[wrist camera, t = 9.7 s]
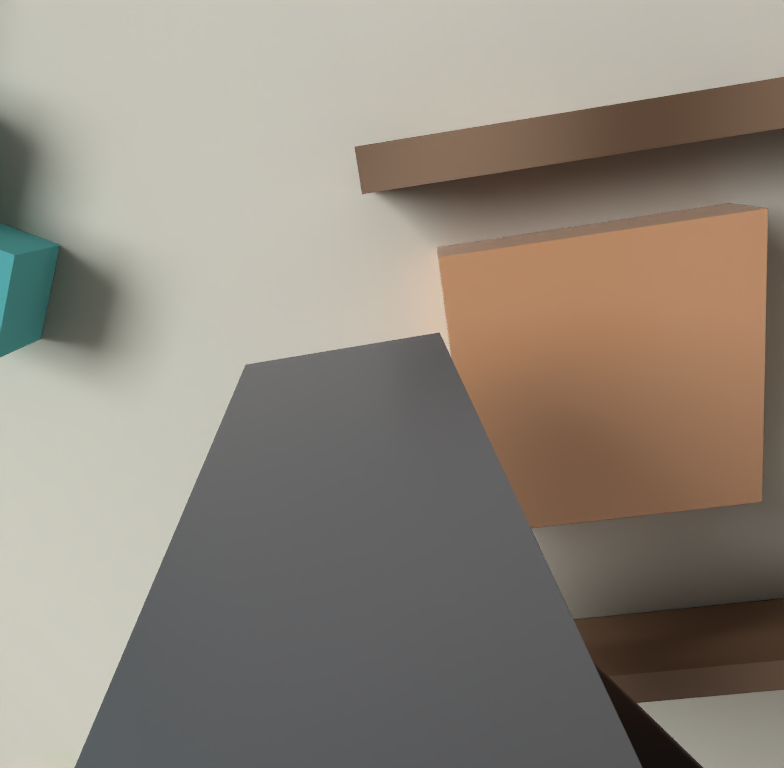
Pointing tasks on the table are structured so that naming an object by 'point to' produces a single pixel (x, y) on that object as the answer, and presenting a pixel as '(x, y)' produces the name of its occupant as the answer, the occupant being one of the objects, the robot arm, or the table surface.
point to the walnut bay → (584, 141)
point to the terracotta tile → (618, 360)
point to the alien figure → (24, 286)
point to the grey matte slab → (355, 592)
